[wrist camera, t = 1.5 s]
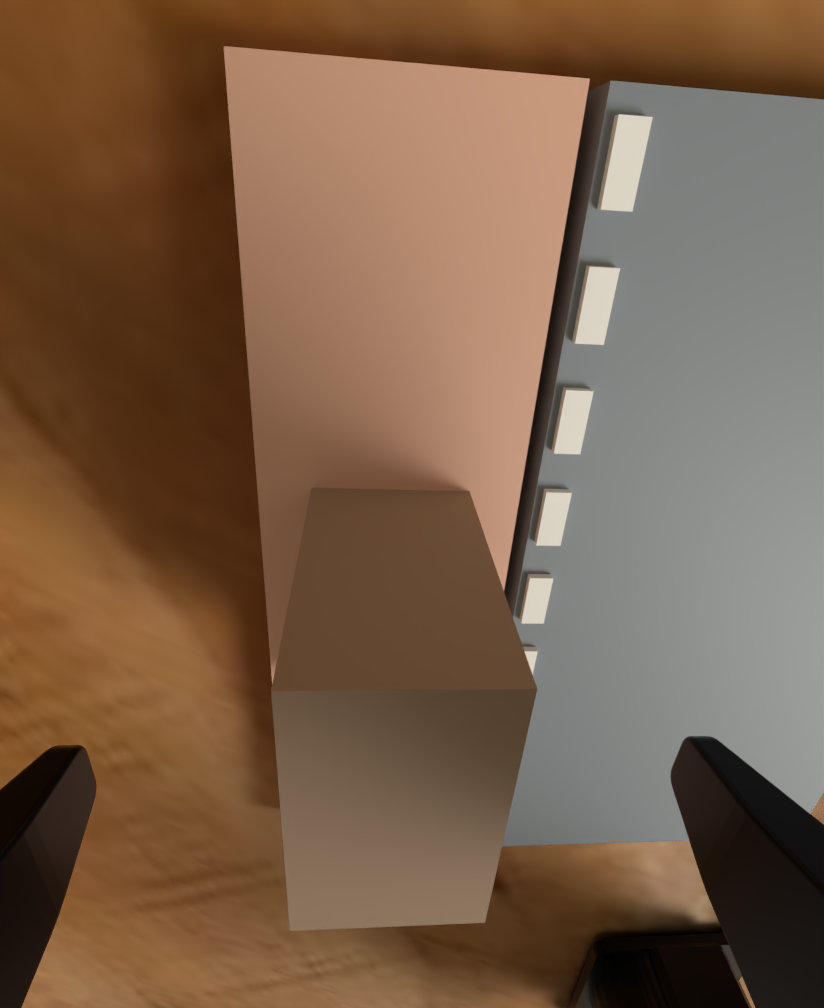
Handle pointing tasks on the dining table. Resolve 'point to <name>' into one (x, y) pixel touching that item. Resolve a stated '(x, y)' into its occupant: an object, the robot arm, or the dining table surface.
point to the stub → (395, 455)
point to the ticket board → (676, 465)
